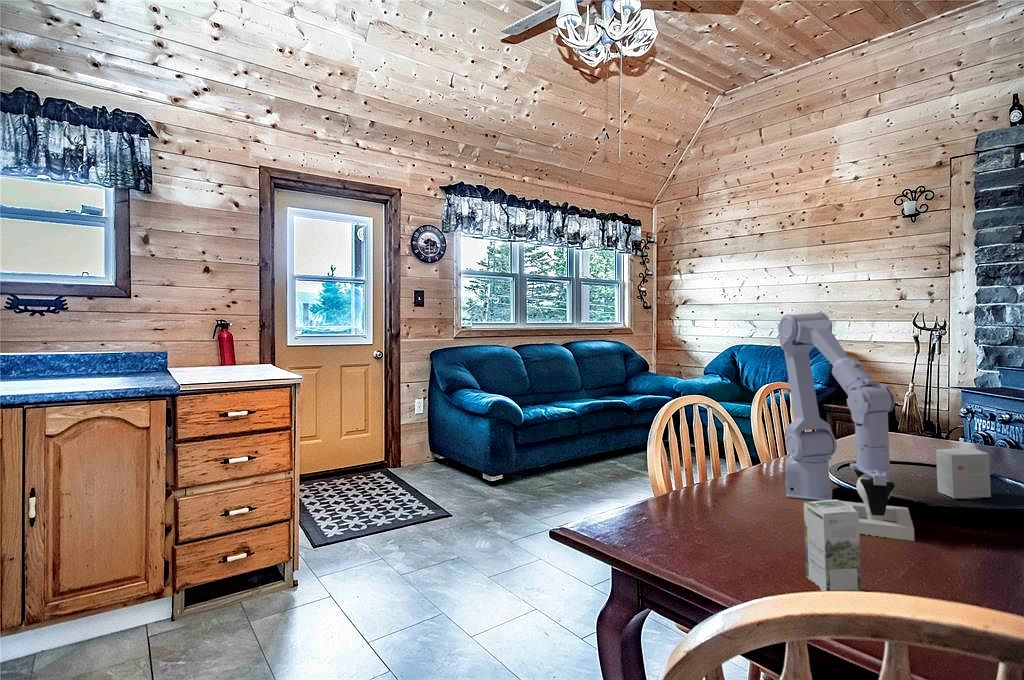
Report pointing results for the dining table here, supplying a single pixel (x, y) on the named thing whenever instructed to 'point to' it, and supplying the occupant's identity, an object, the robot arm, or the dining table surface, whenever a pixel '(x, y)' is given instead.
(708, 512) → the dining table surface
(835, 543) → the syrup box
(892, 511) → the white shallow tray
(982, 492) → the small box
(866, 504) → the lightbulb
